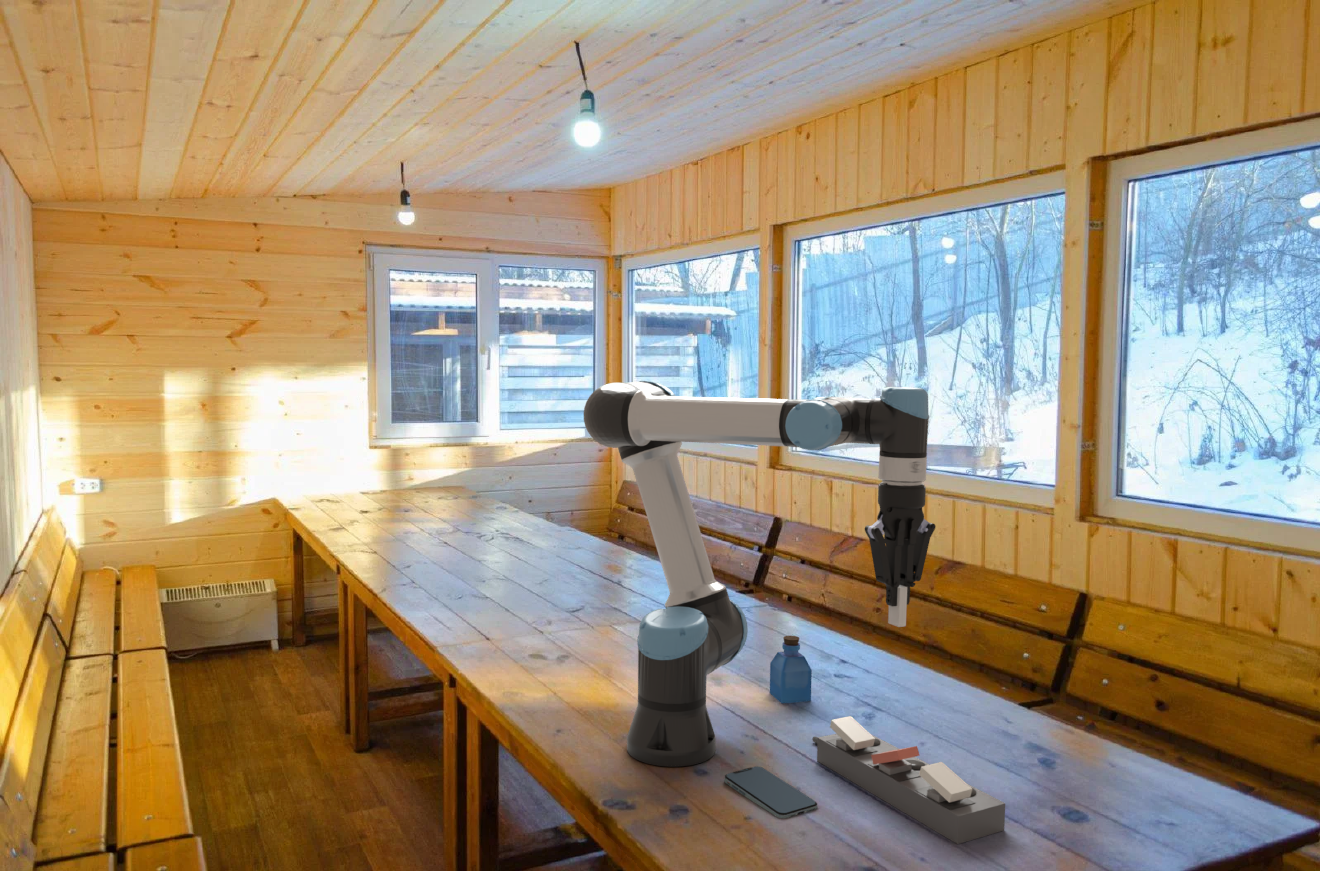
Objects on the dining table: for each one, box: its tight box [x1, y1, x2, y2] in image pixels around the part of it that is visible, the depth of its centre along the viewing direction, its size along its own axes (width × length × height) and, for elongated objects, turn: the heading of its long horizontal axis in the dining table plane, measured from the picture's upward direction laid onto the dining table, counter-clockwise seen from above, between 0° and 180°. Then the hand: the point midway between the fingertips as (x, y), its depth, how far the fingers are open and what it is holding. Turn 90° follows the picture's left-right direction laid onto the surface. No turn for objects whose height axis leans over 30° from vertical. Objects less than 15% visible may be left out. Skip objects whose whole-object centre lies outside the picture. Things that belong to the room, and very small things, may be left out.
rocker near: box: [919, 761, 972, 803], centre depth 144 cm, size 6×4×1 cm, turn 28°
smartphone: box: [724, 765, 818, 819], centre depth 154 cm, size 8×2×15 cm
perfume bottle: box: [769, 635, 813, 704], centre depth 198 cm, size 6×6×12 cm
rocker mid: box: [871, 745, 921, 764], centre depth 154 cm, size 6×4×1 cm, turn 28°
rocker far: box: [829, 715, 875, 750], centre depth 163 cm, size 6×4×1 cm, turn 28°
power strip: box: [812, 733, 1006, 845], centre depth 158 cm, size 39×9×5 cm, turn 28°
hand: (896, 624), depth 164 cm, fingers closed
